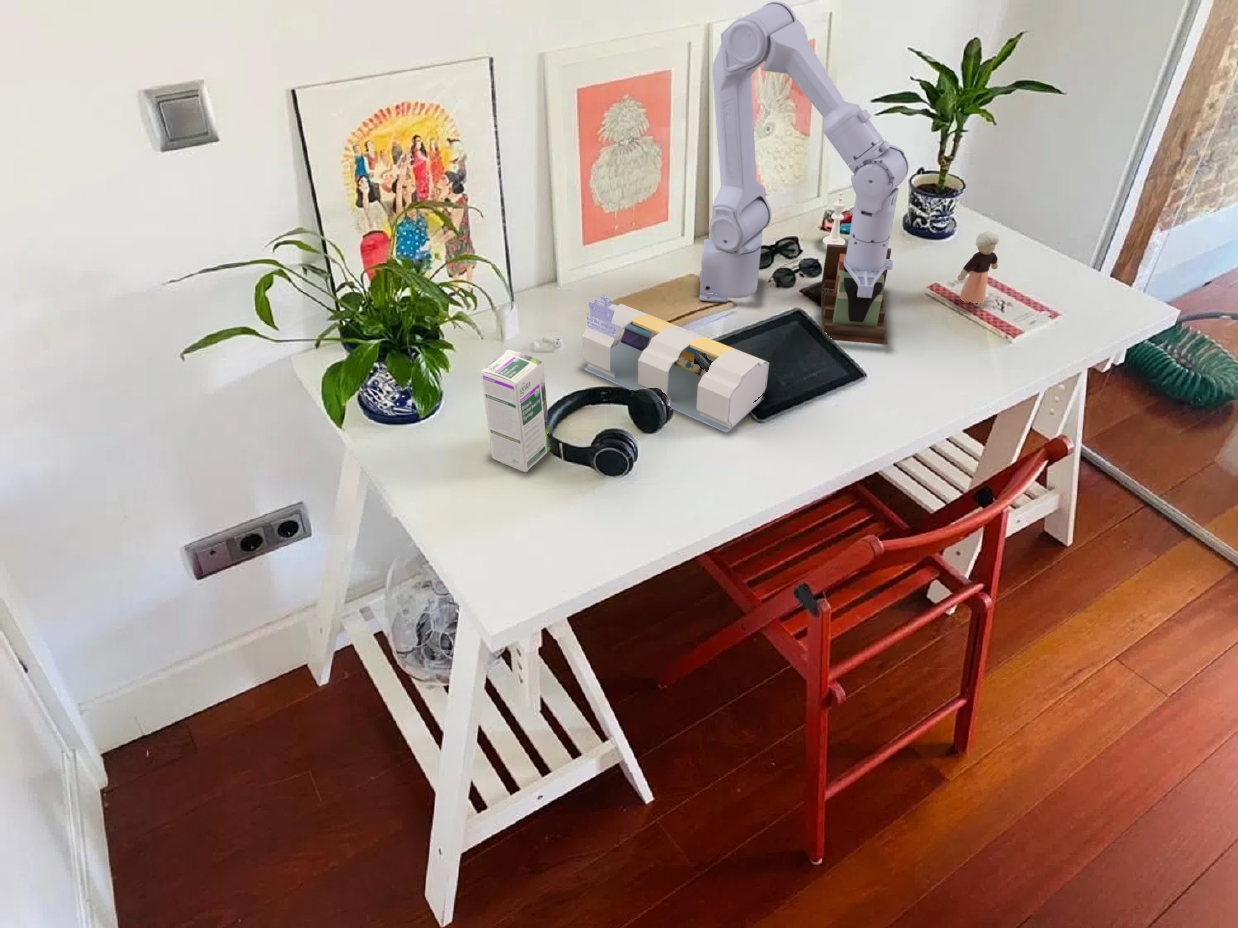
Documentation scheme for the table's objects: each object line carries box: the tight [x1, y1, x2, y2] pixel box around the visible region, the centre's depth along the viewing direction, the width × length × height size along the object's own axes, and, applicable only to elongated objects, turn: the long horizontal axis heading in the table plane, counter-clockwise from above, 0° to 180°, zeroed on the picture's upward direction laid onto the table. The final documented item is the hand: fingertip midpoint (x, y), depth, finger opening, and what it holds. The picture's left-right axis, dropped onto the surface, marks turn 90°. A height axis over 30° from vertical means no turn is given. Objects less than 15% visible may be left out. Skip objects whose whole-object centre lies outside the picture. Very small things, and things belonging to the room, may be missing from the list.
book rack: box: [820, 244, 892, 346], centre depth 155 cm, size 10×17×8 cm, turn 171°
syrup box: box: [480, 349, 551, 473], centre depth 128 cm, size 6×6×14 cm
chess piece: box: [822, 191, 846, 246], centre depth 172 cm, size 5×5×10 cm
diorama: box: [582, 295, 770, 434], centre depth 140 cm, size 25×10×13 cm, turn 53°
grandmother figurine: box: [957, 230, 1000, 307], centre depth 156 cm, size 8×4×13 cm, turn 129°
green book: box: [833, 272, 885, 326], centre depth 151 cm, size 6×3×8 cm, turn 81°
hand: (855, 314), depth 152 cm, fingers closed on green book, 3 cm apart
